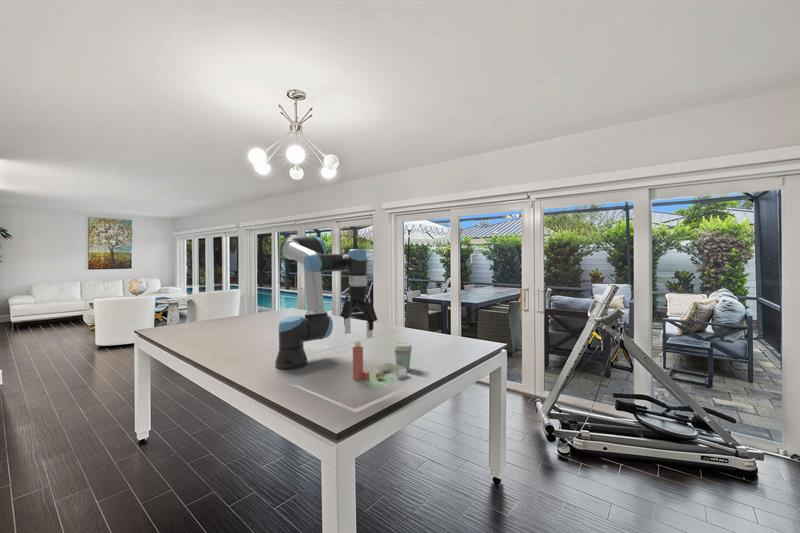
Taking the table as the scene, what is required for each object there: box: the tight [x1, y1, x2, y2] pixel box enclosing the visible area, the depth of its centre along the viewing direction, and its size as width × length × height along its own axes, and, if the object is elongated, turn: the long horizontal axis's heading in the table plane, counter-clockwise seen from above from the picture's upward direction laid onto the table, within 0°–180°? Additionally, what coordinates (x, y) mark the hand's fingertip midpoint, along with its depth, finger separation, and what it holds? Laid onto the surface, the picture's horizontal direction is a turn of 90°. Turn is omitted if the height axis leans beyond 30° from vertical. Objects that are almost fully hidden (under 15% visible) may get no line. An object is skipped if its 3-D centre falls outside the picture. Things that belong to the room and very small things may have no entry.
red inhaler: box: [352, 340, 369, 381], centre depth 149 cm, size 7×5×16 cm
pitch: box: [346, 370, 400, 391], centre depth 148 cm, size 18×14×1 cm
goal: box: [377, 361, 408, 380], centre depth 155 cm, size 12×6×5 cm, turn 50°
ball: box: [375, 370, 385, 380], centre depth 148 cm, size 4×4×4 cm
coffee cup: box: [393, 342, 413, 372], centre depth 165 cm, size 8×8×12 cm
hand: (358, 335), depth 148 cm, fingers open, 13 cm apart
